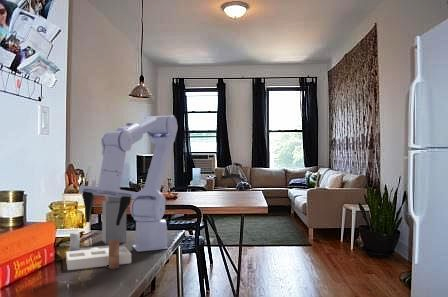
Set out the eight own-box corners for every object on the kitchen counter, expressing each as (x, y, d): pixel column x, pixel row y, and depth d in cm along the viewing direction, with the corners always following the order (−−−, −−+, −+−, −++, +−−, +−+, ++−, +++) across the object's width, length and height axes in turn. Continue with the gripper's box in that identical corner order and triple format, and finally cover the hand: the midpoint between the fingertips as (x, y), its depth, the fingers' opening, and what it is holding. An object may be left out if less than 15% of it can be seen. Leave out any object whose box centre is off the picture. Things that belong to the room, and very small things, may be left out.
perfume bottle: (105, 244, 127) (106, 189, 127) (102, 240, 133) (102, 188, 133) (126, 242, 130) (126, 189, 130) (121, 238, 136) (122, 187, 136)
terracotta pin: (118, 265, 101) (118, 239, 102) (119, 268, 99) (120, 241, 99) (107, 267, 100) (108, 240, 101) (109, 269, 98) (109, 242, 98)
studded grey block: (117, 249, 120) (117, 228, 120) (120, 253, 114) (120, 231, 114) (68, 254, 114) (68, 232, 114) (69, 259, 108) (69, 235, 108)
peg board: (124, 254, 113) (124, 246, 113) (131, 263, 104) (131, 253, 104) (66, 260, 106) (66, 251, 107) (67, 270, 97) (67, 260, 97)
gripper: (81, 166, 99) (71, 219, 96) (138, 173, 102) (130, 225, 98) (85, 171, 106) (75, 221, 102) (138, 178, 108) (131, 227, 105)
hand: (102, 223), depth 101 cm, fingers open, 7 cm apart
